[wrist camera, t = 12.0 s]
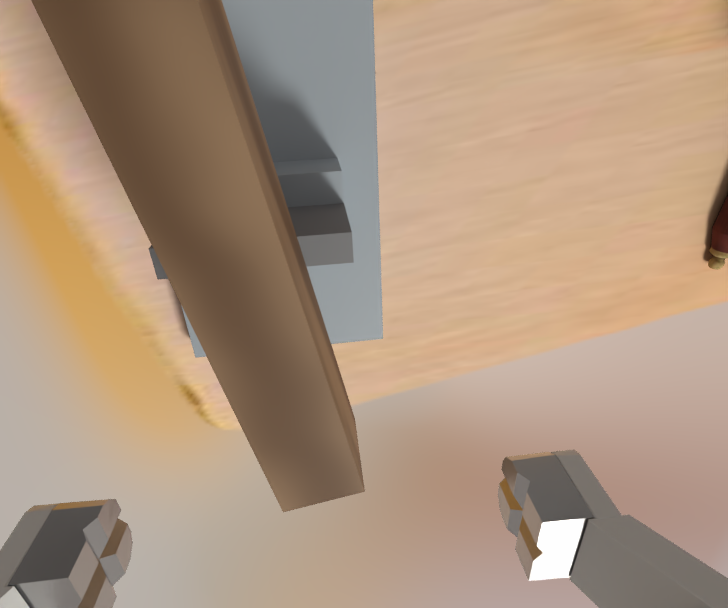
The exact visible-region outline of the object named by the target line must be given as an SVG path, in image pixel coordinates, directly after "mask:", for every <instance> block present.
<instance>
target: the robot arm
mask: <svg viewBox="0 0 728 608" xmlns="http://www.w3.org/2000/svg"><path fill="white" fill-rule="evenodd" d="M502 471H503V474H504V475H505V479H503V481H502V482H500V483H499V491H498V497H499V506H500V510H501V514H502V518H503V520H504V523H505V525H506V528H507V529H508V530H509V531H510V532H511V533H513V534H514V535H515V536H516V537H518V538H517V543H516V549H515V550H516V552H517V554H518V556H519V559H520V561H521V564H522V566H523V569H524V571H525V573H526V576H527V578H528V580H529V581H533V580H544V579H555V578H565V577H570V580H571V581H572V582H573V583H574V584H575V585H576V586H577V587H578V588H579V589H580V590H581V591H582V592H583V593H584V594H585V595H586V596H587V597H589V598H590V599H591V600H592V601H593V602H594V603H595V604H596V605H597V606H598V607H599V608H728V578H726V577H725V576H723V575H722V574H720V573H718V572H717V571H715V570H714V569H713V568H711V567H709V566H708V565H706V564H705V563H703V562H702V561H700V560H699V559H697V558H695V557H694V556H692V555H691V554H689V553H688V552H686V551H685V550H683V549H681V548H680V547H678V546H677V545H675V544H674V543H672V542H671V541H669V540H668V539H666V538H664V537H663V536H661V535H660V534H658V533H656V532H655V531H653V530H652V529H650V528H649V527H647V526H646V525H644V524H643V523H641V522H640V521H638V520H636V519H635V518H633V517H632V516H630V515H621V513H620V512H619V511H618V509H617V507H616V506H615V504H614V503H613V502H612V500H611V499H610V497H609V496H608V494H607V493H606V491H605V490H604V489H603V487H602V486H601V484H600V483H599V482H598V480H597V478H596V477H595V476H594V474H593V473H592V471H591V470H590V468H589V467H588V465H587V464H586V463H585V461H584V460H583V458H582V457H581V455H580V454H579V453H578V452H577V451H575V450H566V451H556V452H544V453H535V454H527V455H518V456H510V457H506V458H505V459H504V460H503V464H502ZM120 512H121V509H120V507H119V505H118V503H117V501H116V499H108V500H95V501H84V502H83V501H82V502H70V503H59V504H48V505H37V506H33V507H32V508H30V509H29V510H28V511H27V512H26V513H25V514H24V515H23V516H22V518H21V520H20V521H19V523H18V524H17V526H16V527H15V529H14V530H13V532H12V533H11V535H10V537H9V538H8V540H7V541H6V542H5V544H4V546H3V547H2V549H1V550H0V608H112V607H113V605H114V602H115V599H116V594H115V591H114V588H113V585H114V584H115V583H116V582H117V581H118V580H119V579H120V578H121V577H122V576H123V575H124V574H125V573H126V570H127V567H128V564H129V561H130V557H131V551H132V543H133V542H132V535H131V530H130V528H129V526H128V524H127V523H125V522H123V521H122V520H120V519H118V516H119V514H120Z"/></svg>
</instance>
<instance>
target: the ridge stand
mask: <svg viewBox="0 0 728 608" xmlns="http://www.w3.org/2000/svg"><path fill="white" fill-rule="evenodd" d="M222 3H223V6H224V9H225V12H226V16H227V19H228V22H229V25H230V28H231V31H232V34H233V38H234V41H235V44H236V47H237V50H238V53H239V56H240V60H241V63H242V66H243V69H244V72H245V75H246V78H247V82H248V85H249V88H250V91H251V94H252V97H253V100H254V104H255V107H256V110H257V113H258V116H259V119H260V122H261V126H262V129H263V132H264V135H265V138H266V141H267V144H268V148H269V151H270V154H271V157H272V160H273V163H274V166H275V170H276V173H277V176H278V179H279V182H280V185H281V188H282V192H283V195H284V198H285V201H286V204H287V207H288V210H289V214H290V217H291V220H292V223H293V226H294V229H295V232H296V236H297V239H298V242H299V245H300V248H301V251H302V254H303V258H304V261H305V264H306V267H307V270H308V273H309V276H310V280H311V283H312V286H313V289H314V292H315V295H316V298H317V302H318V305H319V308H320V311H321V314H322V317H323V320H324V324H325V327H326V330H327V333H328V336H329V339H330V342H331V344H335V343H345V342H355V341H365V340H375V339H383V322H382V289H381V255H380V222H379V188H378V155H377V121H376V87H375V54H374V20H373V0H222ZM149 251H150V255H151V258H152V261H153V265H154V268H155V272H156V275H157V279H168V277H167V275H166V273H165V271H164V269H163V267H162V265H161V263H160V261H159V259H158V257H157V254H156V252H155V250H154V248H153V246H152V245H151V247H150V248H149ZM181 306H182V305H181ZM182 310H183V313H184V317H185V321H186V324H187V328H188V332H189V335H190V339H191V343H192V346H193V350H194V354H195V357H205V356H206V354H205V352H204V350H203V348H202V346H201V344H200V342H199V340H198V338H197V336H196V334H195V332H194V330H193V328H192V326H191V324H190V322H189V320H188V317H187V315H186V313H185V311H184V309H183V307H182Z"/></svg>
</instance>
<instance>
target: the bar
mask: <svg viewBox="0 0 728 608" xmlns="http://www.w3.org/2000/svg"><path fill="white" fill-rule="evenodd" d="M32 2H33V4H34V7H35V9H36V11H37V13H38V15H39V17H40V19H41V21H42V23H43V25H44V27H45V29H46V31H47V33H48V35H49V37H50V39H51V41H52V43H53V45H54V47H55V49H56V51H57V53H58V55H59V57H60V59H61V61H62V63H63V65H64V67H65V70H66V72H67V74H68V76H69V78H70V80H71V82H72V84H73V86H74V88H75V90H76V92H77V94H78V96H79V98H80V100H81V102H82V104H83V106H84V108H85V110H86V112H87V114H88V116H89V118H90V120H91V122H92V124H93V126H94V128H95V130H96V133H97V135H98V137H99V139H100V141H101V143H102V145H103V147H104V149H105V151H106V153H107V155H108V157H109V159H110V161H111V163H112V165H113V167H114V169H115V171H116V173H117V175H118V177H119V179H120V181H121V183H122V185H123V187H124V189H125V191H126V193H127V196H128V198H129V200H130V202H131V204H132V206H133V208H134V210H135V212H136V214H137V216H138V218H139V220H140V222H141V224H142V226H143V228H144V230H145V232H146V234H147V236H148V238H149V240H150V242H151V244H152V246H153V248H154V250H155V252H156V254H157V257H158V259H159V261H160V263H161V265H162V267H163V269H164V271H165V273H166V275H167V277H168V279H169V281H170V283H171V285H172V287H173V289H174V291H175V293H176V295H177V297H178V299H179V301H180V303H181V305H182V307H183V309H184V311H185V313H186V315H187V317H188V320H189V322H190V324H191V326H192V328H193V330H194V332H195V334H196V336H197V338H198V340H199V342H200V344H201V346H202V348H203V350H204V352H205V354H206V356H207V358H208V360H209V362H210V364H211V366H212V368H213V370H214V372H215V374H216V376H217V378H218V380H219V383H220V385H221V387H222V389H223V391H224V393H225V395H226V397H227V399H228V401H229V403H230V405H231V407H232V409H233V411H234V413H235V415H236V417H237V419H238V421H239V423H240V425H241V427H242V429H243V431H244V433H245V435H246V437H247V439H248V441H249V443H250V446H251V447H252V449H253V451H254V454H255V456H256V458H257V459H258V462H259V464H260V466H261V468H262V470H263V472H264V474H265V476H266V478H267V480H268V482H269V484H270V486H271V488H272V490H273V492H274V494H275V496H276V498H277V500H278V502H279V504H280V506H281V508H282V511H283V512H286V511H290V510H294V509H298V508H302V507H306V506H309V505H313V504H317V503H321V502H325V501H329V500H333V499H337V498H341V497H345V496H349V495H353V494H357V493H361V492H364V491H365V490H364V483H363V476H362V468H361V461H360V453H359V447H358V439H357V431H356V424H355V418H354V415H353V412H352V408H351V405H350V402H349V399H348V396H347V393H346V390H345V386H344V383H343V380H342V377H341V374H340V371H339V368H338V364H337V361H336V358H335V355H334V352H333V349H332V346H331V342H330V339H329V336H328V333H327V330H326V327H325V324H324V320H323V317H322V314H321V311H320V308H319V305H318V302H317V298H316V295H315V292H314V289H313V286H312V283H311V280H310V276H309V273H308V270H307V267H306V264H305V261H304V258H303V254H302V251H301V248H300V245H299V242H298V239H297V236H296V232H295V229H294V226H293V223H292V220H291V217H290V214H289V210H288V207H287V204H286V201H285V198H284V195H283V192H282V188H281V185H280V182H279V179H278V176H277V173H276V170H275V166H274V163H273V160H272V157H271V154H270V151H269V148H268V144H267V141H266V138H265V135H264V132H263V129H262V126H261V122H260V119H259V116H258V113H257V110H256V107H255V104H254V100H253V97H252V94H251V91H250V88H249V85H248V82H247V78H246V75H245V72H244V69H243V66H242V63H241V60H240V56H239V53H238V50H237V47H236V44H235V41H234V38H233V34H232V31H231V28H230V25H229V22H228V19H227V16H226V12H225V9H224V6H223V3H222V0H32Z"/></svg>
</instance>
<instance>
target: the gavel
mask: <svg viewBox="0 0 728 608" xmlns="http://www.w3.org/2000/svg"><path fill="white" fill-rule="evenodd" d="M710 253H711V254H712V255H714V256H713V257H712V258H711V259H710V260H709V262H708V265H709V267H710V268H712V269H717V270H718V269H721V268H722V267H723V266H724V264H725V261H724V260H725V259H726V258H728V195H727V198H726V200H725V202H724V204H723V206H722V208H721V210H720V212H719V214H718V217H717V219H716V221H715V223H714V225H713V227H712V244H711V248H710Z"/></svg>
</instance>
